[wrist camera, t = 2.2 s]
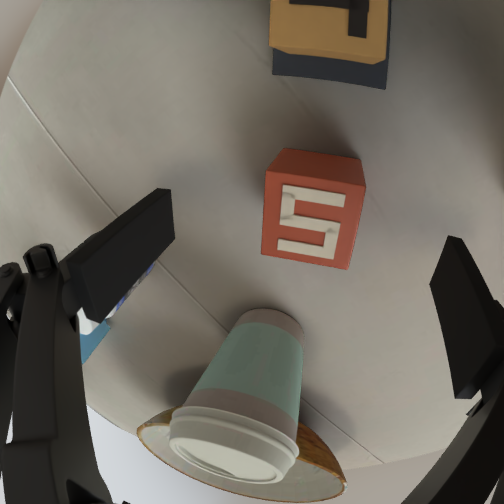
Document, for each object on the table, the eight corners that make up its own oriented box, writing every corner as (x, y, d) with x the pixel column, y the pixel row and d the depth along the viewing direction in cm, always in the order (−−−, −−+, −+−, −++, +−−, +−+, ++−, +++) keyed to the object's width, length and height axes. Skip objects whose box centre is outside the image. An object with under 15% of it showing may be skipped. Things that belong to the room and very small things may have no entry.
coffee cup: (209, 293, 25) (136, 419, 15) (316, 293, 22) (282, 451, 12) (235, 361, 29) (189, 470, 19) (323, 367, 26) (298, 492, 16)
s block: (283, 147, 17) (264, 170, 14) (361, 159, 16) (366, 187, 13) (278, 216, 20) (260, 255, 16) (348, 228, 19) (347, 271, 15)
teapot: (91, 271, 28) (43, 319, 22) (130, 315, 30) (90, 368, 24) (55, 301, 34) (20, 339, 28) (86, 336, 36) (54, 376, 30)
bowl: (139, 393, 41) (114, 435, 34) (231, 326, 26) (196, 402, 20) (267, 464, 44) (254, 503, 38) (395, 433, 30) (391, 491, 24)
